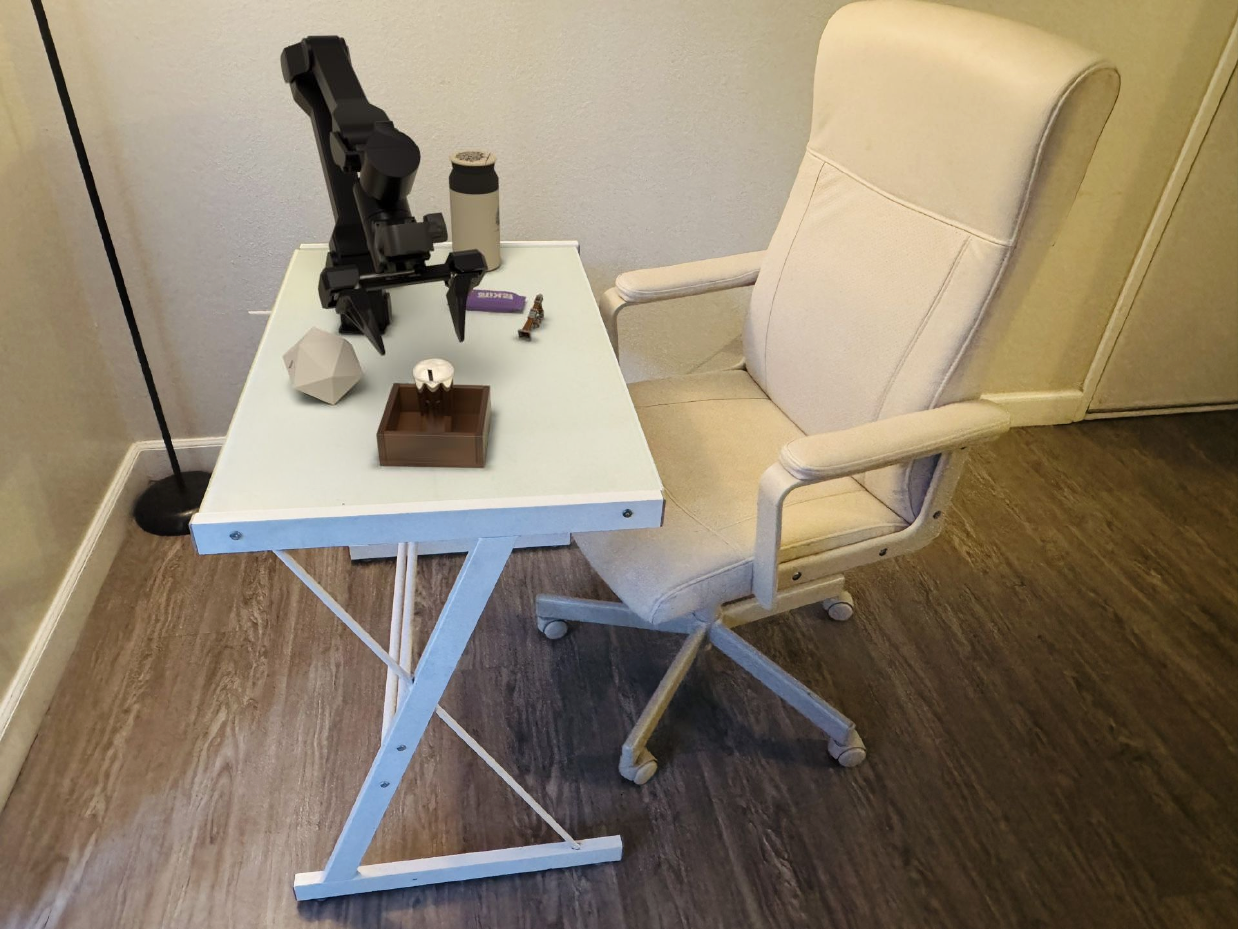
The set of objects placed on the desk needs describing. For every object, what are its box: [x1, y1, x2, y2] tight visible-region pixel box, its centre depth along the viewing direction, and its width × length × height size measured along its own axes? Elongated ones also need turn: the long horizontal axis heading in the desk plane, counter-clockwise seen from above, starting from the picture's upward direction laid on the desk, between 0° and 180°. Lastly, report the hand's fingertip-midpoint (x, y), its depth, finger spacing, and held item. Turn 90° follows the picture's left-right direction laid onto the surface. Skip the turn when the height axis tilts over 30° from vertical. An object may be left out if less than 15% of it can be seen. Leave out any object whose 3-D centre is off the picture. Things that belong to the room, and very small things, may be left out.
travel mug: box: [448, 150, 501, 272], centre depth 142 cm, size 8×8×18 cm
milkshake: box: [412, 358, 455, 432], centre depth 99 cm, size 4×5×10 cm
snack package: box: [447, 288, 527, 313], centre depth 133 cm, size 12×2×5 cm
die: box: [282, 326, 365, 406], centre depth 107 cm, size 8×9×10 cm
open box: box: [375, 382, 492, 468], centre depth 101 cm, size 12×12×4 cm
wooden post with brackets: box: [517, 293, 545, 342], centre depth 127 cm, size 2×8×4 cm, turn 165°
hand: (423, 347), depth 99 cm, fingers open, 9 cm apart
